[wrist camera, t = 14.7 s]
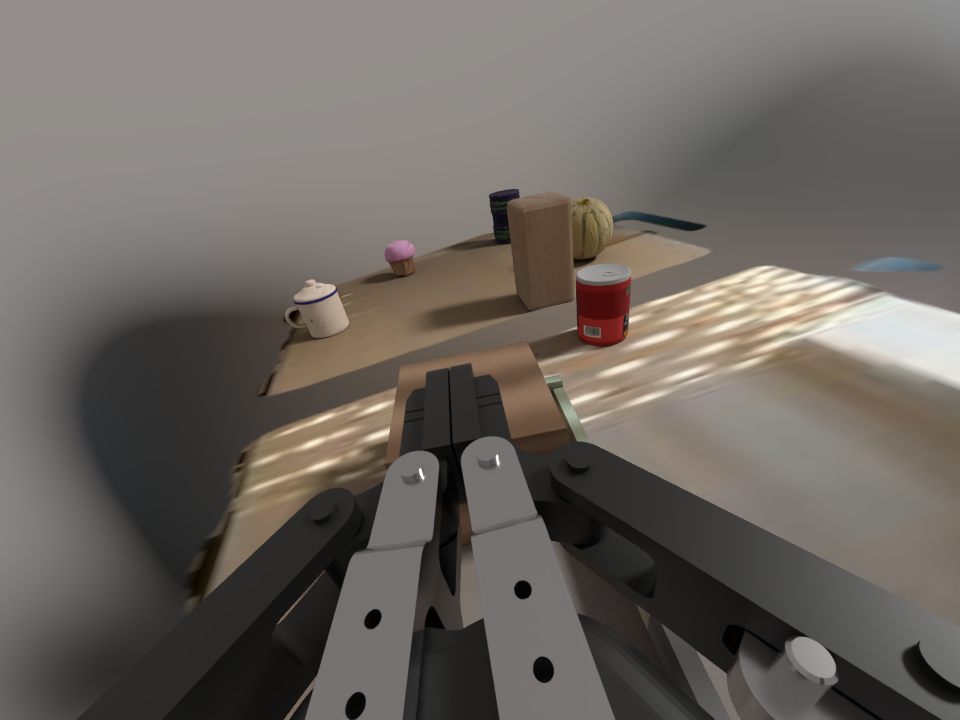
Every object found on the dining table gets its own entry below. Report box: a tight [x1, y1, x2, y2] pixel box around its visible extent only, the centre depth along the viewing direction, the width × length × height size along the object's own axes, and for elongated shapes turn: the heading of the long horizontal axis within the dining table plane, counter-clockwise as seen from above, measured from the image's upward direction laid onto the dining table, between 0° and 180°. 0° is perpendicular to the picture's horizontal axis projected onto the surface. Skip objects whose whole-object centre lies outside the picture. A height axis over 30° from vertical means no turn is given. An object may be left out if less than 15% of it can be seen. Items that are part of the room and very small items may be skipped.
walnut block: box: [385, 341, 568, 545], centre depth 36 cm, size 14×14×12 cm
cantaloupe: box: [572, 197, 613, 260], centre depth 91 cm, size 15×15×15 cm
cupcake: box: [385, 240, 415, 276], centre depth 106 cm, size 9×9×10 cm
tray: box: [544, 375, 731, 720], centre depth 27 cm, size 45×20×5 cm, turn 6°
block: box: [507, 192, 574, 310], centre depth 72 cm, size 10×10×20 cm
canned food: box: [576, 264, 631, 346], centre depth 58 cm, size 8×8×11 cm
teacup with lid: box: [285, 280, 349, 338], centre depth 79 cm, size 12×9×12 cm
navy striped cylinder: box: [489, 189, 520, 244], centre depth 119 cm, size 10×10×15 cm
